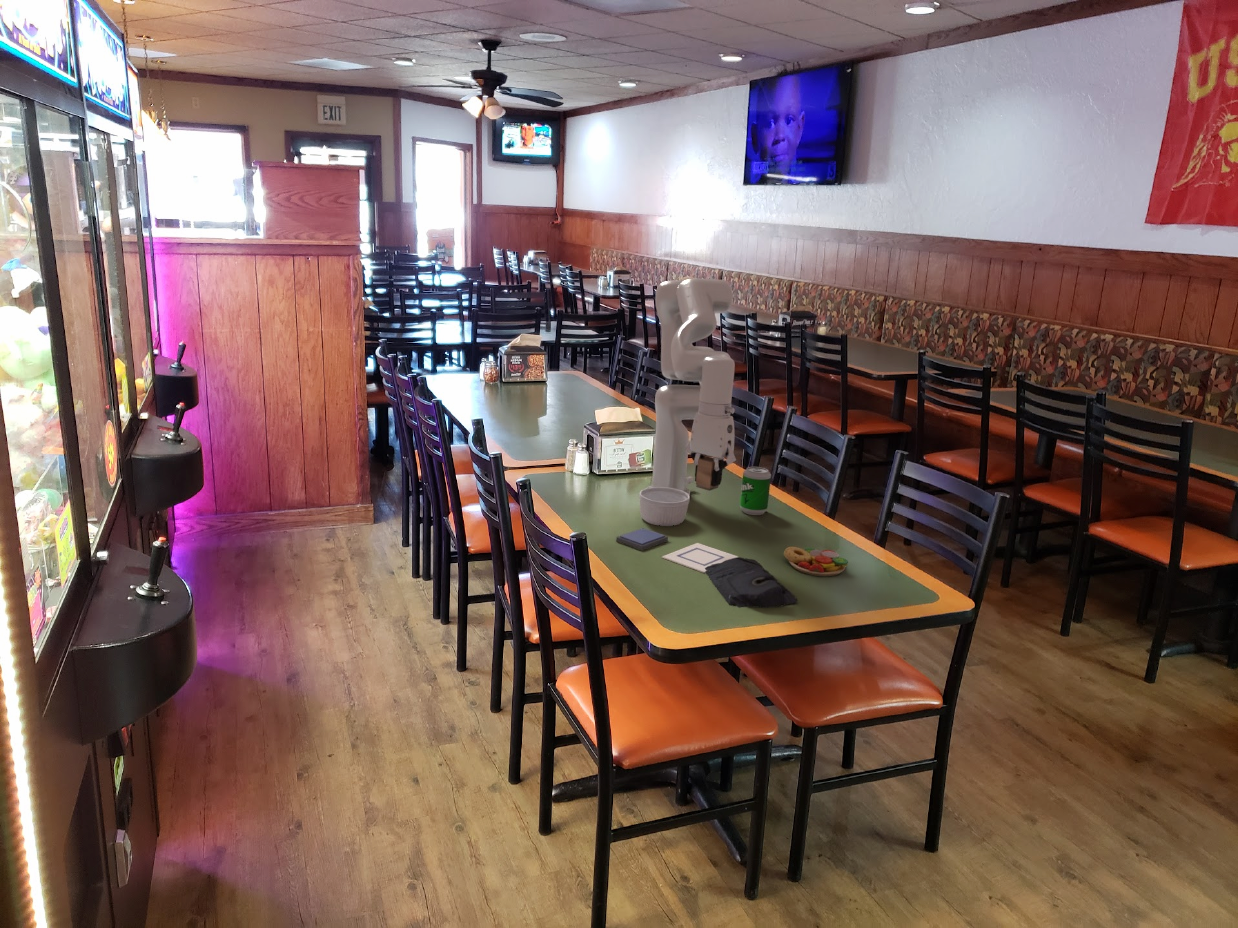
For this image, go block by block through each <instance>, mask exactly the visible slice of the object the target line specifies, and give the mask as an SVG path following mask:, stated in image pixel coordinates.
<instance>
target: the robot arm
mask: <svg viewBox="0 0 1238 928" xmlns="http://www.w3.org/2000/svg"><path fill="white" fill-rule="evenodd" d="M733 300H734V294H733V289H732V287H731V285H730V284H729V282H728V281H727V280H725V279H717V278H716V279H715V278H699V277H698V278H696V277H695V278H694V277H693V278H688V279H685V280H682V279H681V280H679V279H675V280H666V281H663V282H661V283H659V284H658V286H657V288H656V291H655V308H656V314H657V317H658V319H659V324H660V329H661V342H660V345H661V347H660V349H661V350H660V351H661V352H660V369H661V374H662V376H663V377H664V378H666V379H668V380H675V381H676V380H677V381H683V382H698V383H699V385H696V384H695V385H692V384H691V385H688V384H667V385H663V386H660V387H659V388H658V389H657V390H656V392H655V395H654V397H655V398H654V408H655V418H656V419H655V420H656V422H655V439H654V450H653V452H654V454H653V468H652V480H651V484H650V485H648V486H647V487H646V488H652V487H667V488H673V489H678V490H681V491H684V492H686V493H687V494H688V495H689V496H691V490H689V488H688V487H687V486H688V484H692V483H694V481H695V482H696V477H697V466H698V459H700V458H704V457H707V456H708V457H712V458H714V468H715V470H713V471H712V481H711V486H713V487H714V486H717V485H719V486H720V485H721V482H722V478H723V470H725V469H726V467H727V466H729V465H730V464H733V463H735V462H736V461H737V459H736V456H735V453H734V451H735V422H734V421H735V420H734V417H733V416H732V415H733V414H734V413H735V411H736V410H735V407H732V396H733V390H734V389H733V388H734V378H735V364H736V363H735V360H734V359H733V358H731V356H730V354H729V353H727V352H726V351H721V350H720V351H718V350H715V349H713V348H712V347H708V346H699V345H698V346H697V345H695V346H694V345H693V343H696V342H699V341H701V340H704V339H706V338H708V337H709V336H711V335H712V334H714V331H715V330H716V328H717V317H716V314H725V313H727V312H729V311H730V309H731V308H732V305H733V302H734V301H733ZM731 414H732V415H731ZM682 420H693V423H692V427H691V432H690V433H691V434H689V430H688V429H687V427H686V426H685V425H684V424H683V422H682ZM688 455H690V457H691V459H692V460H693V465H695V470H694V477H693V476H688V477H687V469H688ZM725 457H726V459H725Z"/></svg>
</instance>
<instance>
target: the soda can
mask: <svg viewBox="0 0 1238 928" xmlns="http://www.w3.org/2000/svg"><path fill="white" fill-rule="evenodd" d="M771 477H772V474H771V472H770V471H769V469H767V468H765V467H760V466H748V467H746V469H745V470H743V472H742V480H741V488H740V489H741V491H740V492H741V493H740V500H739V501H740V502H739V508H740V509H741V511H742V512H743V513H744V514H747V515H750V516H761V514H762V515H764V513H765V512H767V511H768V507H769V506H768V505H769V498H770V497H769V496H770V490H771V489H770V488H771Z"/></svg>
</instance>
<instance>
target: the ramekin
mask: <svg viewBox="0 0 1238 928" xmlns="http://www.w3.org/2000/svg"><path fill="white" fill-rule="evenodd" d="M638 495H639V496H638V498H639V507H640V509H639V510H640V517H641V518H642V519H643V521H644V522H646V523H648V524H651V525H655V526H659V525H660V526H661V527H674V526H678V525H681V524H682V523H683V522H684V521H685V519H686V517H687V512H688V508H689V504H690V499H691V497H690V496H691V495H690V496H689V495H688V494H687V493H686V492H684V491H681V490H678V489H673V488H667V487H652V488H647V487H646V488H644V489H641V490H640V491H639V494H638ZM680 523H681V524H680ZM673 525H674V526H673Z"/></svg>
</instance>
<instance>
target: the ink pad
mask: <svg viewBox="0 0 1238 928" xmlns="http://www.w3.org/2000/svg"><path fill="white" fill-rule="evenodd" d="M668 541H669V536H667V535H664V534H662V533H659V532H655V531H652V530H650V529H647V528H643V527H641V528H639V529H636V530H633V531H631V532H627V533H625V534H622V535H619V536H616V540H615V542H617V543H620V544H622V543H623V545H625V546H628V547H631V548H634V549H636V550H639V551H644V550H647V549H650V548H652V547H656V546H658V545H661V544H664V543H667V542H668Z"/></svg>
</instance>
